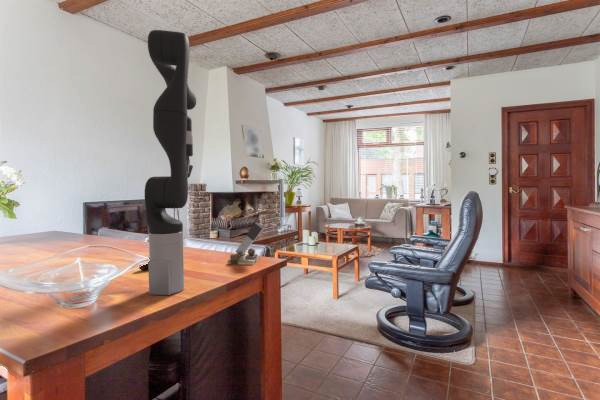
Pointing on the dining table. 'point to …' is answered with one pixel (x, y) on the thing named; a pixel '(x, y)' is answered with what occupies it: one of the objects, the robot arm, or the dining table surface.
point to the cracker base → (244, 258)
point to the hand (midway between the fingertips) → (183, 188)
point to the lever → (249, 238)
